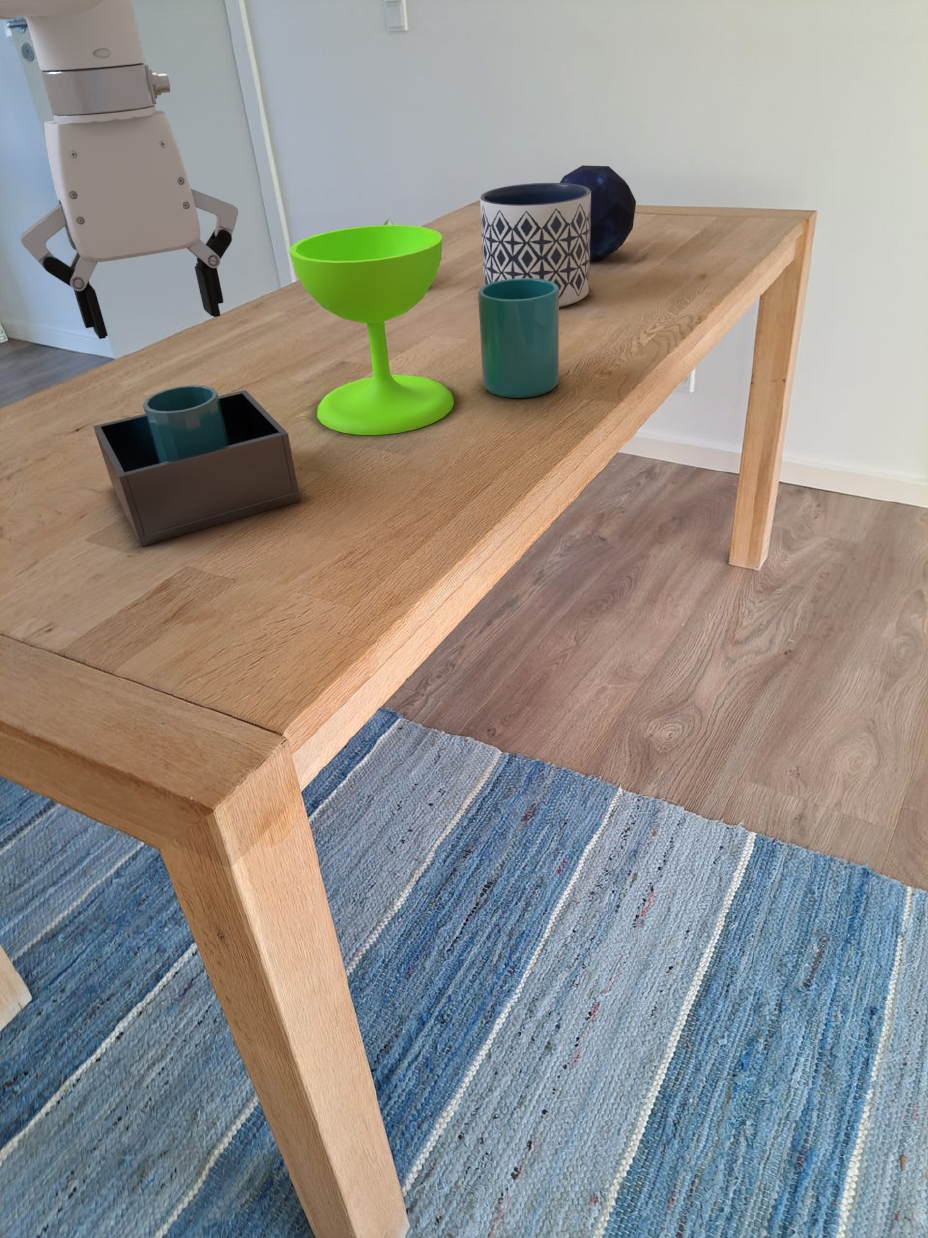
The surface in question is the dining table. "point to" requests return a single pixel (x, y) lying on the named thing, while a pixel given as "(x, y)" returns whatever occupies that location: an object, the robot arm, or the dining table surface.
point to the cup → (519, 336)
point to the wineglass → (374, 319)
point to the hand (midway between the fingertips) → (158, 323)
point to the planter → (538, 236)
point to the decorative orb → (605, 208)
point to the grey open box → (200, 473)
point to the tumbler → (185, 421)
